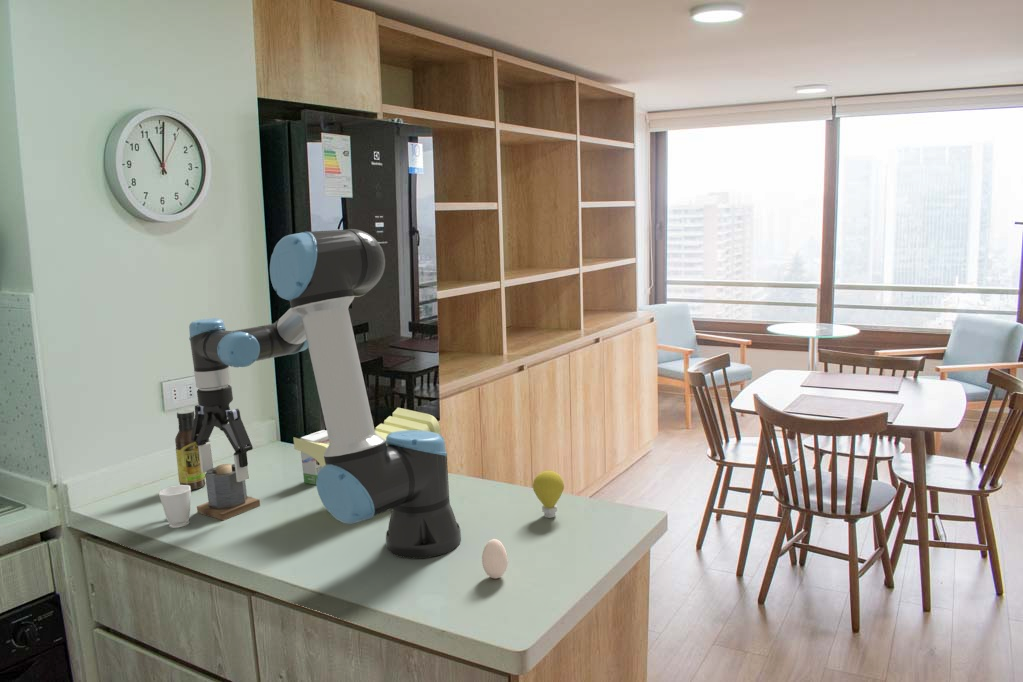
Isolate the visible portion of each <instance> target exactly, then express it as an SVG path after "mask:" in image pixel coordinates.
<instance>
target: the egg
mask: <svg viewBox="0 0 1023 682" xmlns="http://www.w3.org/2000/svg"><path fill="white" fill-rule="evenodd" d="M481 563H482V565H481V566H482V568H483V571H484V572H485V574H486V575H487V576H488V577H489V578H491V579H499V578H501V577H503V576H504V574H505V572H506V571H507V569H508V563H509V561H508V554H507V550H506V548H505V546H504V545H503V543H502V542H501V541H500V540H499V539H496V538H492V539H490V540H488V541H487V542H486V544H485V545H484V547H483V550H482V555H481Z"/></svg>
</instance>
